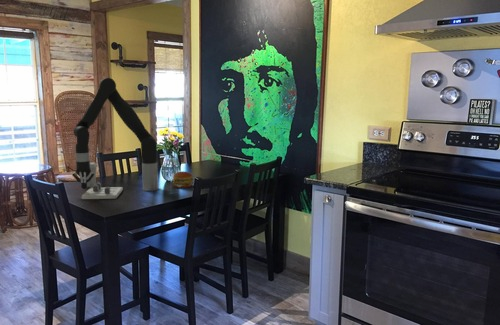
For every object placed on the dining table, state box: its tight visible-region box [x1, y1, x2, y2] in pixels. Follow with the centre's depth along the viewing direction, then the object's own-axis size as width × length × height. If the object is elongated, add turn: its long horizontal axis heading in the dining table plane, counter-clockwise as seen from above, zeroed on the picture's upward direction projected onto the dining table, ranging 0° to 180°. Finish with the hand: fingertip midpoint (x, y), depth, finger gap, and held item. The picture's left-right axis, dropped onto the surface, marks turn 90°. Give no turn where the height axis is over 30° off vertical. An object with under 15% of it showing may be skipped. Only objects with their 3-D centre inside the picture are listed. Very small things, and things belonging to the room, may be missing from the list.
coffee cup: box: [87, 161, 98, 188], centre depth 269 cm, size 10×10×15 cm
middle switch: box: [92, 184, 99, 191], centre depth 248 cm, size 2×3×4 cm
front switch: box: [105, 186, 110, 194], centre depth 243 cm, size 2×3×4 cm
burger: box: [172, 171, 194, 189], centre depth 270 cm, size 14×14×10 cm
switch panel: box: [81, 186, 123, 200], centre depth 249 cm, size 19×20×2 cm
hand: (84, 188), depth 247 cm, fingers closed
